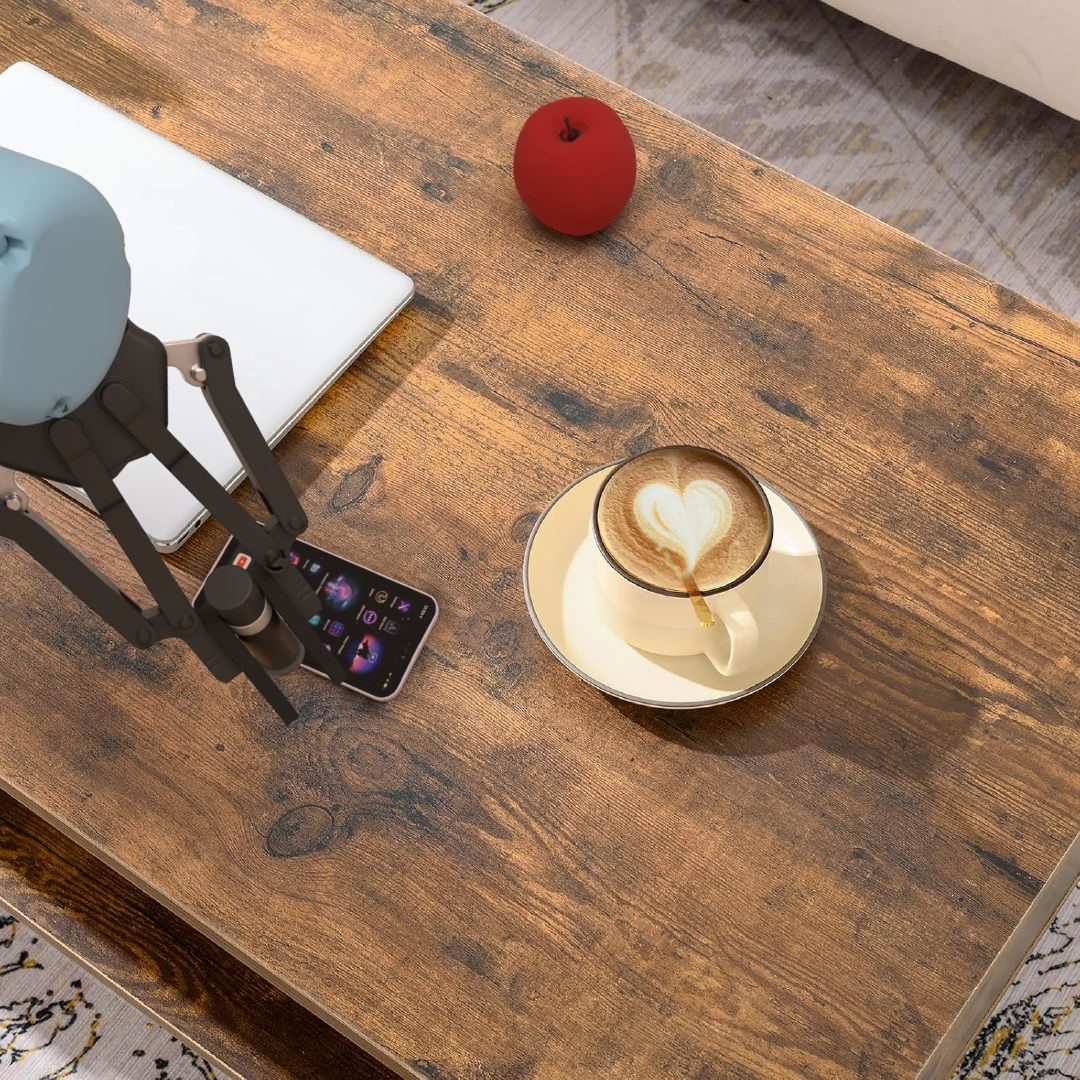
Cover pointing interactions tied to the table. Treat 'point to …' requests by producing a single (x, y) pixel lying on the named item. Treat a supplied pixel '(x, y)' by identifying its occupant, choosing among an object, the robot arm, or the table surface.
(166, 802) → the table surface
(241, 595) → the pepper grinder
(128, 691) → the table surface
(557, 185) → the apple
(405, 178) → the table surface
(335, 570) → the smartphone
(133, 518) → the robot arm
